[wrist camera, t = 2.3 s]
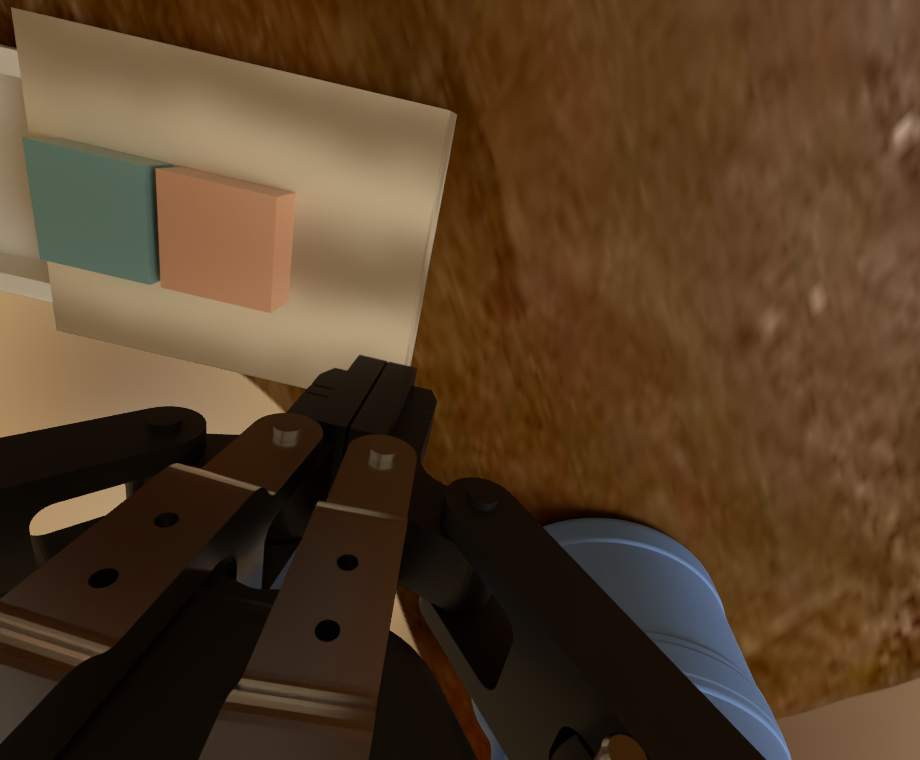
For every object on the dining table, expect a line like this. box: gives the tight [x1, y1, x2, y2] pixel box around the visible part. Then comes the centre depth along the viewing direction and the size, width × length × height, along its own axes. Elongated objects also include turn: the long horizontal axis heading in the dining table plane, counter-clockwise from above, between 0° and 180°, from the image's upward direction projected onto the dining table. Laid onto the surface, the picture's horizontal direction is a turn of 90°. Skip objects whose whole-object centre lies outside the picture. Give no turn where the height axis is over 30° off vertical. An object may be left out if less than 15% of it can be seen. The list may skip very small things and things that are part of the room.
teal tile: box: [22, 137, 173, 285], centre depth 22 cm, size 5×5×2 cm
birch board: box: [11, 7, 457, 389], centre depth 25 cm, size 14×18×3 cm
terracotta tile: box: [155, 167, 296, 313], centre depth 22 cm, size 5×5×2 cm
